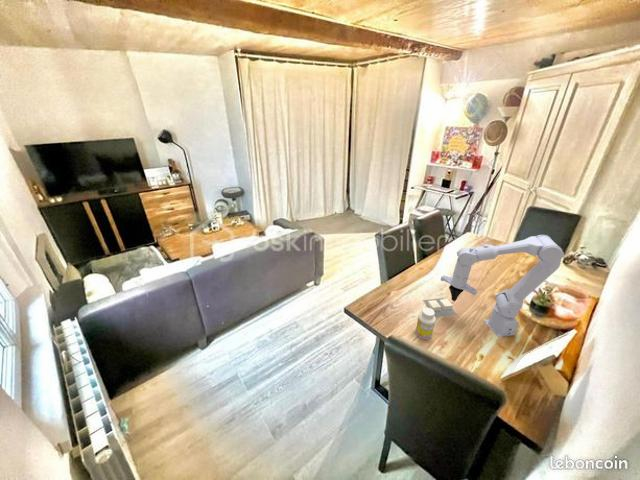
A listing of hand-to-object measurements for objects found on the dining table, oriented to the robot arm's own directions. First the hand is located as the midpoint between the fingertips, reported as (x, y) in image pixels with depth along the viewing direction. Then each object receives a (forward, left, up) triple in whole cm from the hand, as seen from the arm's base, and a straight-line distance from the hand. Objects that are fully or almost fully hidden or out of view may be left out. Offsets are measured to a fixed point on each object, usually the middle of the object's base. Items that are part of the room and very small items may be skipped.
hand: (454, 299), depth 110 cm
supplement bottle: (-8, +17, -10) cm, 21 cm away
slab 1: (+4, +4, -8) cm, 10 cm away
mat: (+6, +2, -10) cm, 12 cm away
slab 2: (+4, -2, -8) cm, 9 cm away
